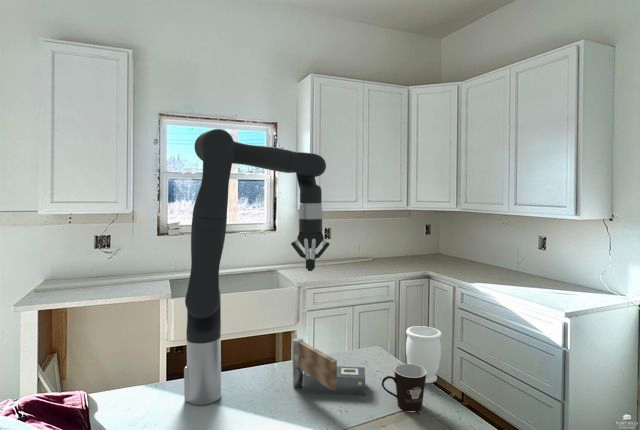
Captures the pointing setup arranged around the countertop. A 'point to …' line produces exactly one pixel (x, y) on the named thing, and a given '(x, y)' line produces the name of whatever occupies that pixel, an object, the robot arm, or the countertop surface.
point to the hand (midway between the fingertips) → (310, 270)
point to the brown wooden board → (315, 363)
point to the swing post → (297, 378)
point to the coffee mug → (408, 386)
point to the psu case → (339, 382)
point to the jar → (424, 349)
